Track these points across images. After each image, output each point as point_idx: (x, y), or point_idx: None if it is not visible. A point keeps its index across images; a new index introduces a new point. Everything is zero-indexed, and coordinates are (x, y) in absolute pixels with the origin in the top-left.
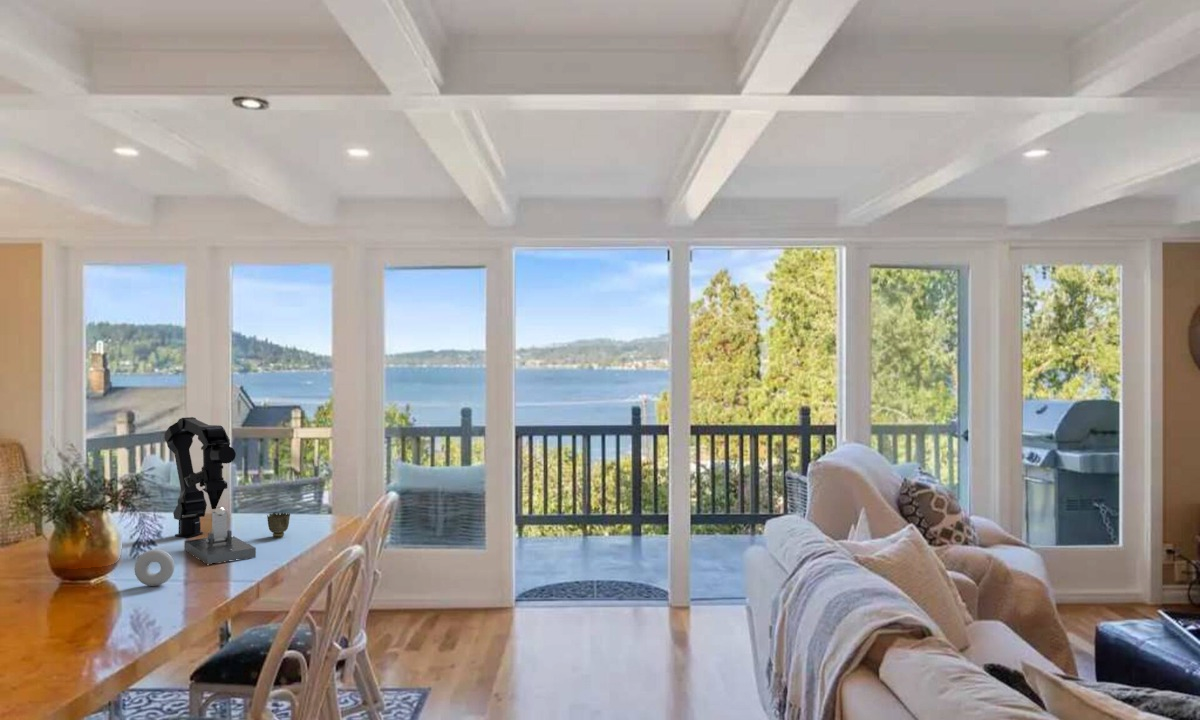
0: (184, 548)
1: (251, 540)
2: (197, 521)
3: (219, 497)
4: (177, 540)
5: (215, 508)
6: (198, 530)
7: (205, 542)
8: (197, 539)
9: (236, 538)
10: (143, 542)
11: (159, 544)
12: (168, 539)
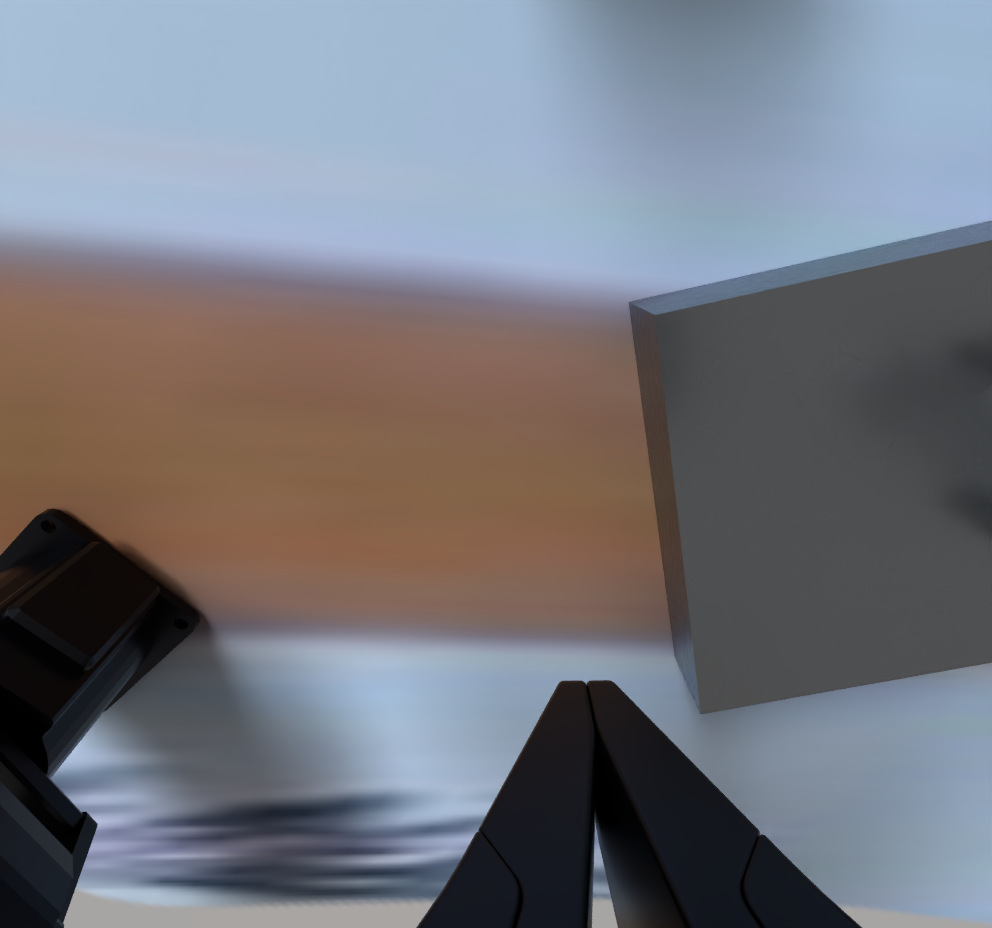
0: (680, 666)
1: (612, 42)
2: (19, 644)
3: (819, 911)
4: (272, 687)
5: (617, 689)
6: (102, 574)
7: (894, 572)
8: (704, 625)
9: (940, 265)
10: (253, 856)
11: (368, 783)
12: (207, 737)
